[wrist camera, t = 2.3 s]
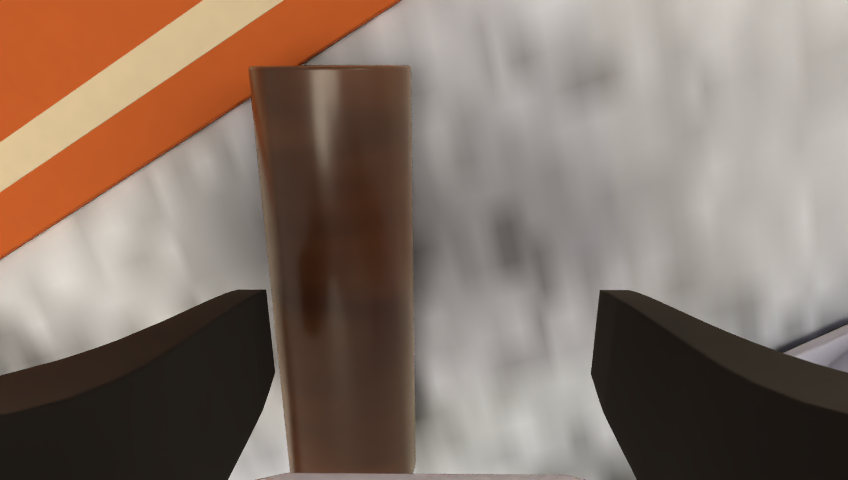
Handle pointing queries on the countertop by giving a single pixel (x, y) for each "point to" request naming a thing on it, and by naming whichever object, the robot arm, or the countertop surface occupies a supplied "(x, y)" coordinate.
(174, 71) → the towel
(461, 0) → the countertop surface
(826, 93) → the countertop surface
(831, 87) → the countertop surface
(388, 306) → the rolling pin
